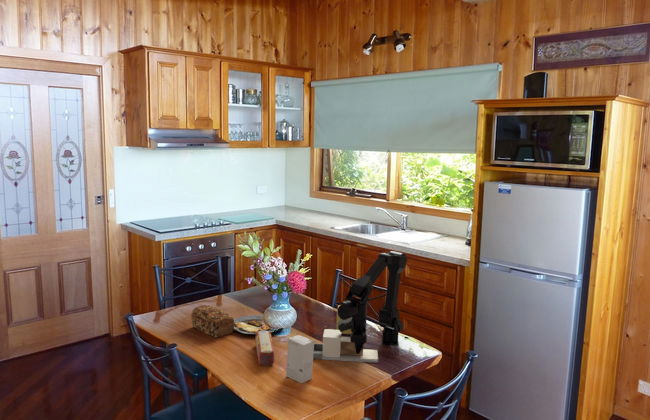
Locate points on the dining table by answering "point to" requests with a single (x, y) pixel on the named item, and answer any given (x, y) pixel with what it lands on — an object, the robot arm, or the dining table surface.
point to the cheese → (338, 327)
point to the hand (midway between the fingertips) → (357, 351)
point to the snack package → (264, 348)
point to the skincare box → (300, 358)
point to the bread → (212, 321)
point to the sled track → (332, 349)
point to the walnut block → (348, 347)
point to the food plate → (254, 325)
